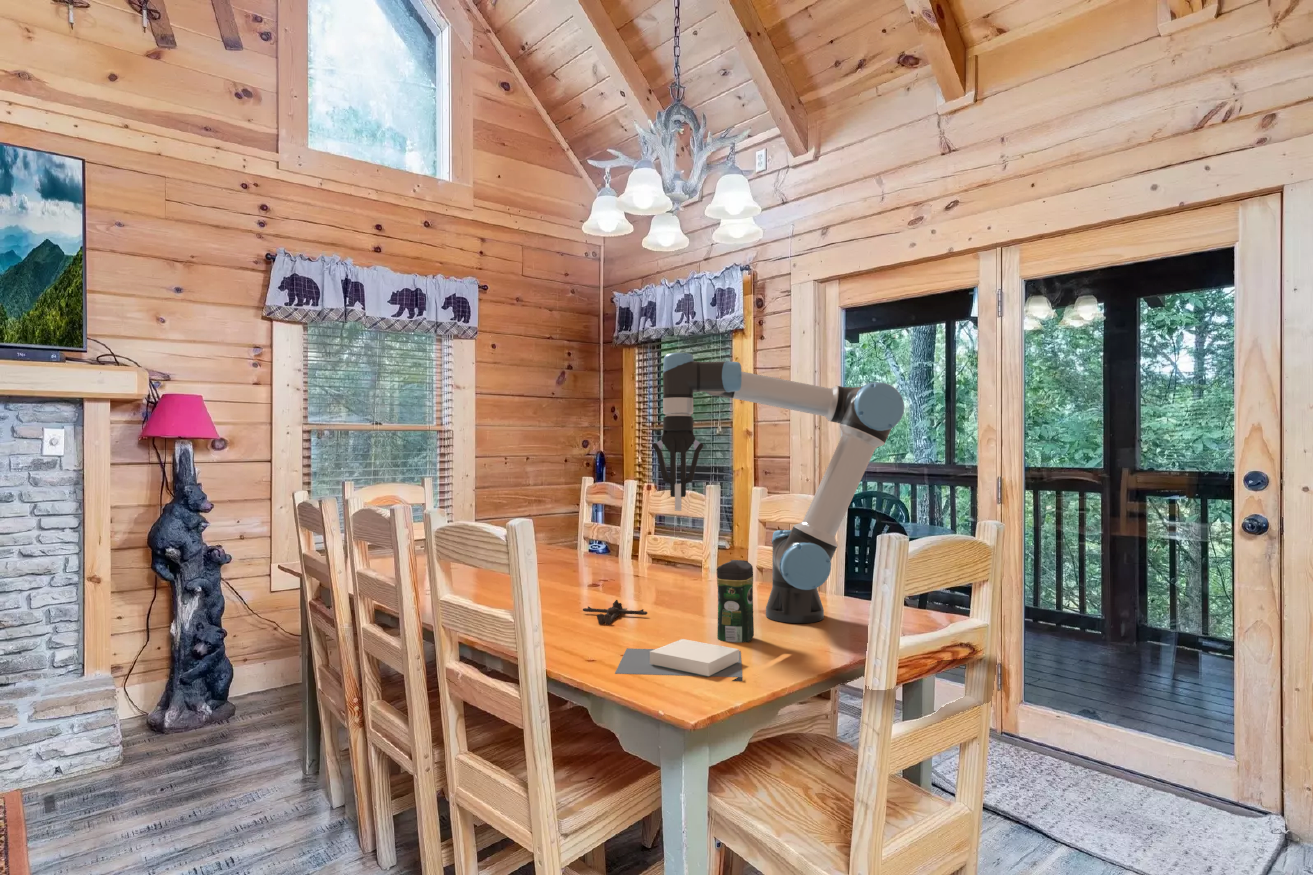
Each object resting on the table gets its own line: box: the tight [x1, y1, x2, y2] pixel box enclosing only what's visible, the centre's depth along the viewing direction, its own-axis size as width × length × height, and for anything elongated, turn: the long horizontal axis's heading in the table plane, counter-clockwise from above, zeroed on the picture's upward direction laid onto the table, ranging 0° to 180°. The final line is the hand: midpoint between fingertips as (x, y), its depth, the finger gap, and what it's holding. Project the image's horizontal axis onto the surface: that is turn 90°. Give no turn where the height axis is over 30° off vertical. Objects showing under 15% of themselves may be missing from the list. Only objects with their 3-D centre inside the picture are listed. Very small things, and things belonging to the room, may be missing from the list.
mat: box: [614, 647, 744, 682], centre depth 155 cm, size 25×18×1 cm
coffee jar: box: [716, 559, 755, 644], centre depth 175 cm, size 10×8×19 cm
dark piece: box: [582, 599, 648, 626], centre depth 197 cm, size 18×4×14 cm
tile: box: [650, 638, 740, 678], centre depth 153 cm, size 3×12×14 cm
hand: (678, 510), depth 186 cm, fingers closed
